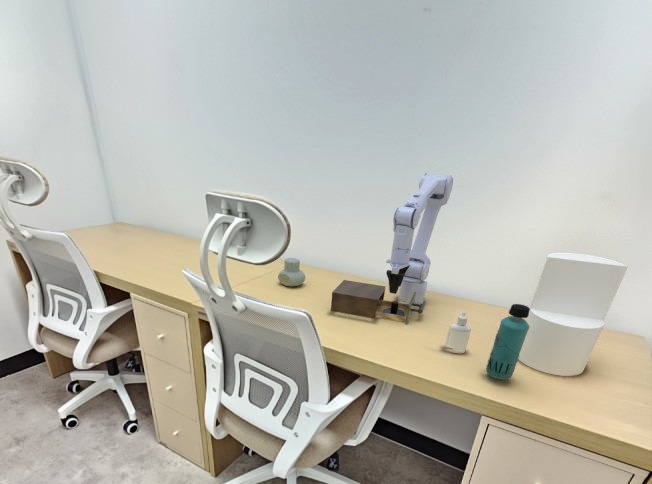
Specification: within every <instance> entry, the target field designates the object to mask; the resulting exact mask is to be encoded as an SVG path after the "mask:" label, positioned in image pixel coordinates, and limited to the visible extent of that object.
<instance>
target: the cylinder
mask: <svg viewBox="0 0 652 484" xmlns="http://www.w3.org/2000/svg"><path fill="white" fill-rule="evenodd" d="M628 268H629V266H628V265H626V264H624V263H623V262H619V261H618V260H614V259H612V258H611V259H610V258H606V257H604V256H603V257H602V256H597V255H592V254H586V253H580V252H579V253H578V252H566V251H565V252H563V251H562V252H561V251H559V252H551V253H549V254H547V256H546V259H545V261H544V265H543V267H542V271H541V273H540V276H539V279H538V281H537V285H536V288H535V291H534V293H533V296H532V299H531V302H530V305H529V308H530V310H529V315H528V317H527V318H525V320H526V322H527V323H528V324H529V329H528V332H527V334H526V337H525V340H524V343H523V346H522V348H521V351H520V354H519V356H520V357H518V361H519V362H521V363H523V364H524V365H526V366H528V367H530V368H532V369H534V370H537V371H539V372H541V373H546V374H550V375H555V376H560V377H572V376H578V375H580V374H582V373H583V372H584V370H585V368H586V366H587V364H588V361H589V359H590V357H591V355H592V352H593V350H594V348H595V346H596V345H597V341H598V339H599V338H600V335H601V333H602V332H603V331H602V330H603V328H604V327H605V325H606V324H605V319H606V316H607V315H608V312H609V310H610V308H611V305H612V303H613V301H614V299H615V297H616V294H617V292H618V289H619V288H620V286H621V284H622V281H623V279H624V276H625V275H626V272H627V270H628Z"/></svg>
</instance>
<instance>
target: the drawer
mask: <svg viewBox="0 0 652 484" xmlns="http://www.w3.org/2000/svg"><path fill="white" fill-rule="evenodd" d="M415 296H416V292H414V294H413V296H412V298H411V301H410V303H405V302H399V303H398V309H399V310H402V311H403V312H404V316H399V315H394V314H388V313H383V310H384V309H386V308H391V304H392V301H393V300H386V299H384V300H380V299H378V301H377V308H376V315H375V318H377V319H383V320H389V321H393V322H399V323H404V325H408V324H409V321H410V318H411V316H412V313H413V312H414V313H418V314H419V315H422V314H423V312H424V309H425V307H426V306H425V304H424V303H423V304H417V303H414V302H415ZM415 307H417V308H418V309H417V308H415Z"/></svg>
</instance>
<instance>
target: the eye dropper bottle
mask: <svg viewBox="0 0 652 484" xmlns="http://www.w3.org/2000/svg"><path fill="white" fill-rule="evenodd" d="M467 322H468V316H466V311H462V313H461V315H458V316H457V320H456V322H454V323H451V324H450V325H449V326H448V331H447V335H446V339H445V342H444V346H445V347H446V348H449V349H452V351H450V350H447V352H448V353H452V354H465V352H466V351H467V346H468V343H469V339H470V335H471V331H472V330H471V329H472V328H471V326H469V325H467Z"/></svg>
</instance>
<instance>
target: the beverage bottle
mask: <svg viewBox="0 0 652 484" xmlns="http://www.w3.org/2000/svg"><path fill="white" fill-rule="evenodd" d="M529 310H530V306H527V305H524V304H522V303H521V304H520V303H513V304H511V306H510V309H509V310H508V314H509V316H505V317H504V318H502V319H500V323H499V327H498V329H497V332H496V334H495V338H494V341H493V344H492V345H493V346H492V348H491V351H490V353H489V356H488V359H487V363H486V367H485V368H486V369H485V371H486V373H487V374H488V375H489V376H490V377H492V378H495V379H499V380H508V379H511V378H512V377H513V375H514V372H515V370H516V367H517V364H518V361H519V359H518V357H520V356H519V354H520V351H521V348H522V346H523V343H524V340H525V337H526V334H527V332H528V329H529V324H528V323H527V322H526V318H527V317H528V315H529Z"/></svg>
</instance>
